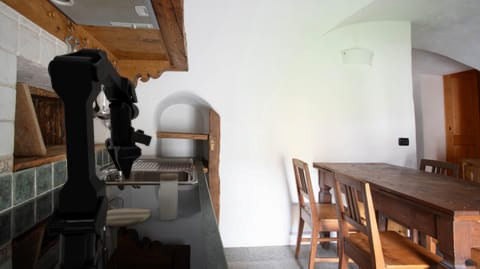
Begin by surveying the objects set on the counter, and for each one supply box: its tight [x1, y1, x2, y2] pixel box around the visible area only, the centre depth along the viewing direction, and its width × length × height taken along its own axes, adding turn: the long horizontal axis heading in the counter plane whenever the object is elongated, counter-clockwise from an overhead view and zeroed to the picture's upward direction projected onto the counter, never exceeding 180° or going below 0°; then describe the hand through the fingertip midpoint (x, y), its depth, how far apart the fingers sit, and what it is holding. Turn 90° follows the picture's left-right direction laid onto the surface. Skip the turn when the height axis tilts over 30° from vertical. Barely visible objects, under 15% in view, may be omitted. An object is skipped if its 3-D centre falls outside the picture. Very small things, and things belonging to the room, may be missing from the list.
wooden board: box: [92, 207, 152, 227], centre depth 78 cm, size 16×16×1 cm
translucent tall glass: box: [159, 172, 179, 221], centre depth 79 cm, size 5×5×14 cm
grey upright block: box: [158, 188, 160, 211], centre depth 90 cm, size 6×6×7 cm
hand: (123, 174), depth 77 cm, fingers open, 9 cm apart
